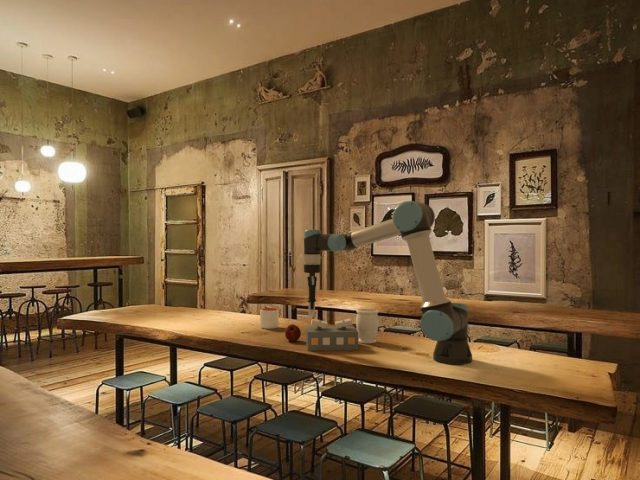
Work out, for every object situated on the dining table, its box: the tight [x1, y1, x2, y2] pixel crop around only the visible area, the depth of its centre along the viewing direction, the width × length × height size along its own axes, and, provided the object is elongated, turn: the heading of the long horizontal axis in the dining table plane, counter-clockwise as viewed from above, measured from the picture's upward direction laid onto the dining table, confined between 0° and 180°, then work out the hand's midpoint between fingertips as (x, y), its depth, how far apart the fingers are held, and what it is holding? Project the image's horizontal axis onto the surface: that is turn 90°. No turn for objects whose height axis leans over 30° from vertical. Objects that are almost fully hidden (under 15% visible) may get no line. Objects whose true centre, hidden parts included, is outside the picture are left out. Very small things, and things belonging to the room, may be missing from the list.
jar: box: [355, 308, 380, 344], centre depth 223 cm, size 11×10×15 cm
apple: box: [284, 324, 302, 342], centre depth 224 cm, size 7×8×8 cm
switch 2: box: [334, 318, 353, 328], centre depth 213 cm, size 5×7×2 cm
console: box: [305, 325, 359, 351], centre depth 212 cm, size 14×22×9 cm, turn 95°
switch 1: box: [310, 318, 329, 328], centre depth 212 cm, size 5×7×2 cm
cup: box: [259, 307, 280, 330], centre depth 259 cm, size 10×10×10 cm
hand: (311, 316), depth 212 cm, fingers closed
